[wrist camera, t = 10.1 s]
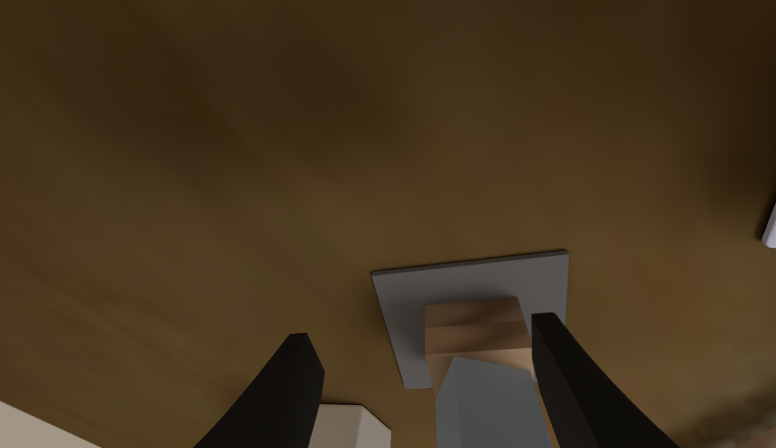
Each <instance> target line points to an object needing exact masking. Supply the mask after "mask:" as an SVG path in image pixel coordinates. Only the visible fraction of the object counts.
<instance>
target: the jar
mask: <svg viewBox="0 0 776 448" xmlns="http://www.w3.org/2000/svg"><path fill="white" fill-rule="evenodd" d="M390 442H391V431H390V429H389V428H387V427H386V426H385V425H384V424H383V423H382V422H381V421H379V420H378V419H377V418H376V417H375V416H374V415H373V414H371V413H370V412H369V411H368V410H367V409H366V408H365V407H364V406H362V405H337V404H320V406H319V409H318V413H317V417H316V421H315V425H314V428H313V432H312V436H311V439H310V443H309V447H308V448H390Z"/></svg>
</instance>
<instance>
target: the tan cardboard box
mask: <svg viewBox="0 0 776 448" xmlns="http://www.w3.org/2000/svg"><path fill="white" fill-rule="evenodd" d="M522 320H525V319H524V316H523V313H522V310H521V307H520V304H519V300H518V297H511V298H500V299H489V300H478V301H468V302H457V303H446V304H435V305H425V328H435V327H448V326H460V325H472V324H485V323H497V322H509V321H522Z"/></svg>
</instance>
